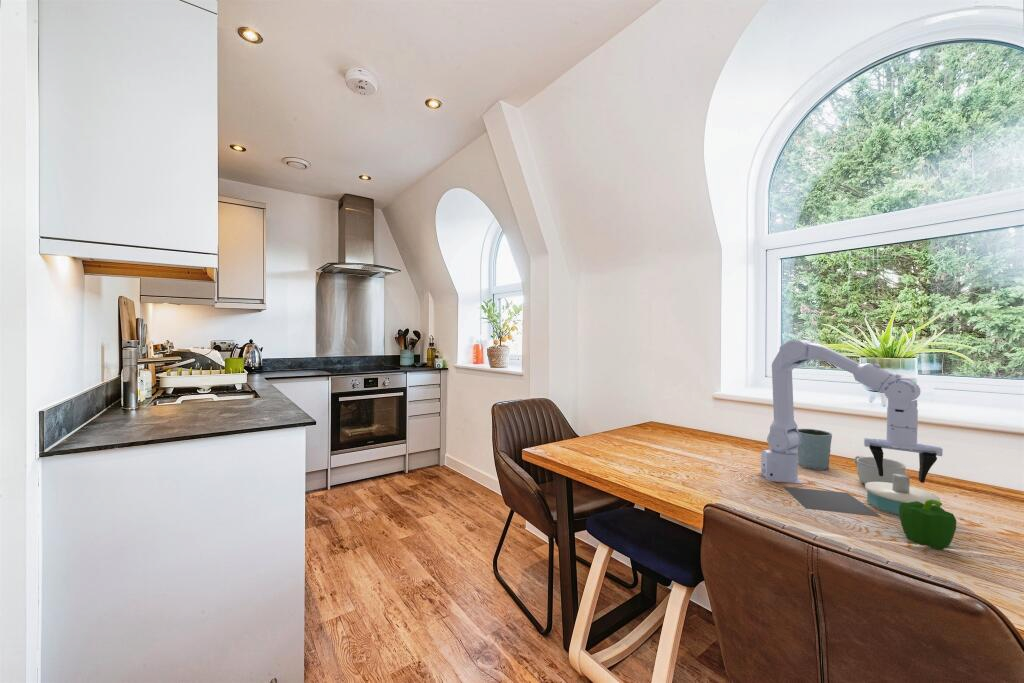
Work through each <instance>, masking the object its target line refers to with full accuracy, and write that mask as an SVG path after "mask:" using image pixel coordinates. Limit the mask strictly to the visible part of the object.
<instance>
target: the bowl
mask: <svg viewBox="0 0 1024 683" xmlns="http://www.w3.org/2000/svg"><path fill="white" fill-rule="evenodd" d="M866 493H867V494H866V497H867V498H866V502H868V503H869V504H870V505H872V506H874V508H876V509H877V510H880V511H883V512H887V513H891V514H895V515H898V516H899V506H900V505H901V503H903V502H899V501H894V500H890V499H887V498H883V497H880V496H877V495H875V494H873V493H870V492H869V491H867V490H866ZM936 506H937V505H936Z"/></svg>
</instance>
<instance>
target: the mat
mask: <svg viewBox="0 0 1024 683" xmlns="http://www.w3.org/2000/svg"><path fill="white" fill-rule="evenodd" d="M783 488H784V489H785V491H787V492H788V493H789V494H790V495H791V496H792V497H793V498H794V499H795V500H796V501H798V503H799V504H800V505H802V507H804V509H807V510H817V511H825V512H835V513H843V514H852V515H860V516H861V515H862V516H871V517H881V518H882V516H881V515H880V514H878V513H877V512H876V511H874V510H873V509H872V508H870V507H869V506H867V505H866V504H864V503H863V502H862V501H860V500H859V499H857V498H856V497H854V496H853V495H852V494H850V493H848V492H842V491H841V492H840V491H831V490H821V489H813V488H801V487H790V486H783Z"/></svg>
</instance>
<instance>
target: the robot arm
mask: <svg viewBox="0 0 1024 683" xmlns="http://www.w3.org/2000/svg"><path fill="white" fill-rule="evenodd" d="M811 360H815V361H817V360H819V361H824V362H826V363H828V364H830V365H833V366H834V367H837V368H839V369H841V370H843V371H846V372H848V373H850V374H852V375H853V377H854V378H853V379H854V380H855V381H856V382H858V383H860V384H863V385H864V386H866V387H868V388H870V389H871V390H872V389H873V390H874V391H876V392H878V393H881V394H884V395H885V397H886V399H887V406H886V407H887V409H886V439H880V438H879V439H878V438H867V437H864V438H863V446H864V447H867V448H869V450H870V452H871V454H872V457H874V458H875V461H876V464H877V467H878V474H879V476H883V458H884V450H885V449H887V450H895V451H903V452H910V453H917V454H918V458H919V460H918V461H919V470H918V481H919V482H920V483H921V484H925V483H926V482H925V481H926V477H927V475H928V473H929V471H930V469H931V468H932V466H933V465H934V464H935V463H936V462H937V459H938V457H943V448H942V447H941V446H936V445H935V446H934V445H929V444H923V443H918V420H919V419H918V416H919V410H918V400H917V399H918V398H919V397H920V395H921V388H920V386H919V385H918V384H917V383H916V382H915V381H913V380H912V379H910V378H902V375H901V374H899V373H896V374H895V373H892V372H890V371H888V370H885V369H883V368H882V367H881V364H879V363H876V362H875V363H870V362H867V363H859V362H857V361H855V360H853V359H851V358H850V357H847V356H845V355H844V354H841V353H839V352H837V351H836V350H833V349H832V348H830V347H828V346H825V345H823V344H820V343H817V342H814V341H812V340H809V339H801V340H800V339H791V340H788V341H786V342H785V343H783V344H782V345H780V346H779V351H778V352H777V354H776V356H775V357H774V359H773V361H772V363H771V382H772V400H773V402H772V404H773V405H772V406H773V407H772V408H773V421H772V423H771V424H770V427H769V433H768V435H767V437H766V443H767V444H768V446H769V448H770V449H763V450H762V451H761V454H760V455H761V456H760V458H761V460H760V474H761V475H762V476H763V477H764V478H765V479H766V480H767V481H772V482H780V483H781V482H782V483H791V484H792V483H793V484H804V482H803V481H801V479H800V478H798V477H799V476H798V475H799V463H798V448H797V447H798V446H799V445H800V444H801V441H802V439H801V435H800V434H799V432H798V429H799V428H798V424H797V423H796V422H795V413H794V411H795V410H794V388H793V370H794V369H796V368H797V367H798V366H799V365H800V364H803V363H805V362H807V361H811ZM883 449H884V450H883ZM937 456H938V457H937Z"/></svg>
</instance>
